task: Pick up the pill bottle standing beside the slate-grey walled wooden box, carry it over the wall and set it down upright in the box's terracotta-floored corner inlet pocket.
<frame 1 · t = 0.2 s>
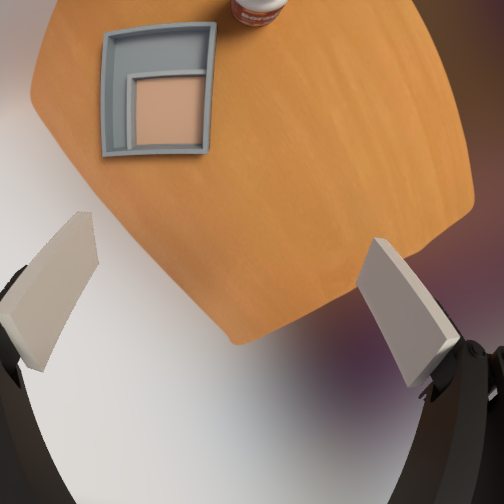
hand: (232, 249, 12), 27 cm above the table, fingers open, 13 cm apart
walled box: (159, 88, 31), on the table
pill bottle: (255, 8, 26), on the table
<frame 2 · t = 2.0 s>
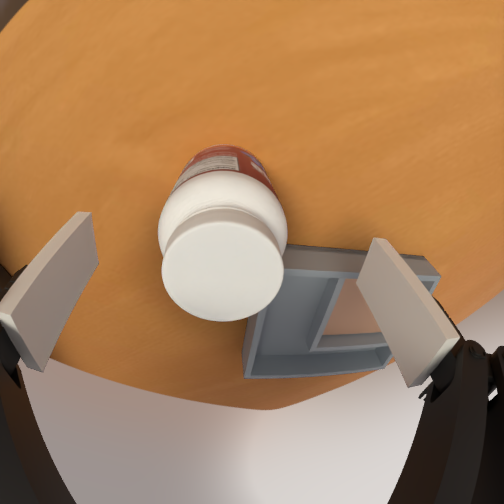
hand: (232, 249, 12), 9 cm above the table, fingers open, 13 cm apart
walled box: (333, 308, 28), on the table
pill bottle: (223, 183, 20), on the table
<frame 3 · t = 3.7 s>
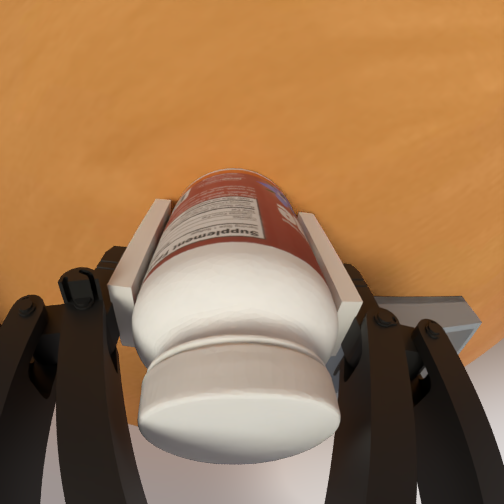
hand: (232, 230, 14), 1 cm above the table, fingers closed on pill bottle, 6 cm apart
walled box: (358, 357, 22), on the table
pill bottle: (232, 220, 15), on the table, touching gripper
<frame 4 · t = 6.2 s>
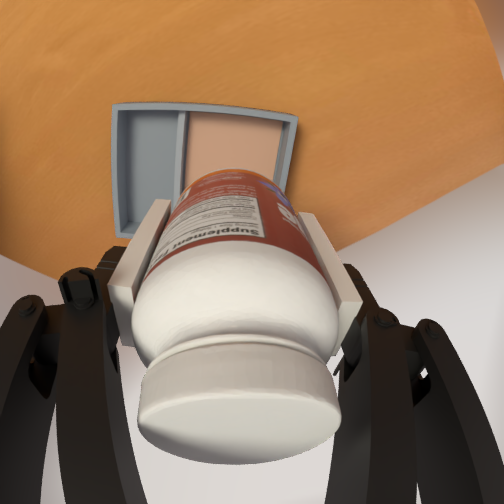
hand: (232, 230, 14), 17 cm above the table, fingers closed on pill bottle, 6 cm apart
walled box: (199, 169, 28), on the table
pill bottle: (232, 220, 15), point 16 cm above the table, touching gripper
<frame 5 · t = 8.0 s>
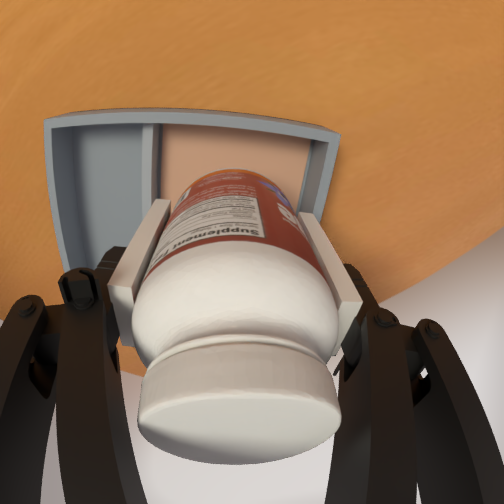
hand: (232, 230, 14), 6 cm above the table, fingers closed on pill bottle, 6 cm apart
walled box: (182, 209, 19), on the table
pill bottle: (232, 220, 15), point 5 cm above the table, touching gripper
when the fingers open (4 cm above the table, at t = 9.1 s): pill bottle drops 2 cm, resting on walled box.
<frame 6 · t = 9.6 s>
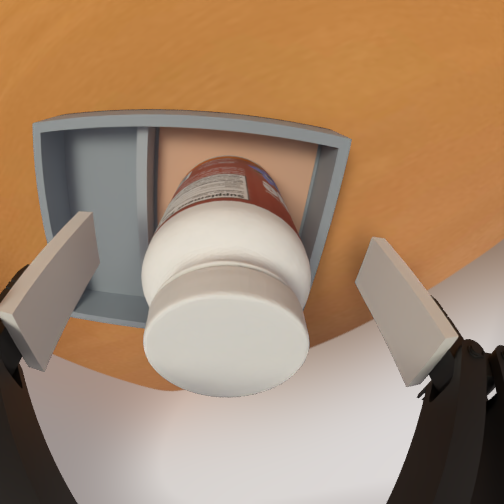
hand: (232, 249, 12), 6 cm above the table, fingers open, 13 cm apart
walled box: (180, 218, 18), on the table
pill bottle: (227, 201, 17), point 1 cm above the table, touching walled box
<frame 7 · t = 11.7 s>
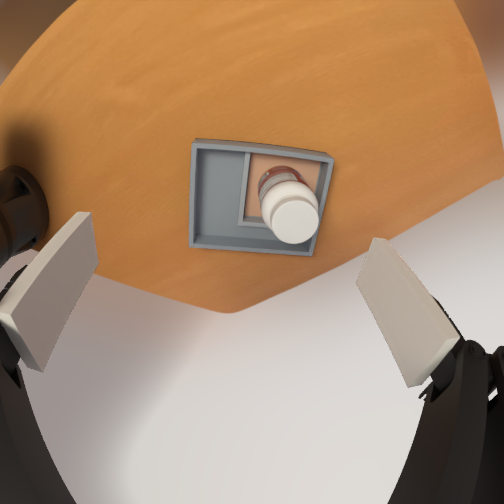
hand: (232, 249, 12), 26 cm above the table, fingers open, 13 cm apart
walled box: (256, 194, 38), on the table
pill bottle: (280, 185, 37), point 1 cm above the table, touching walled box
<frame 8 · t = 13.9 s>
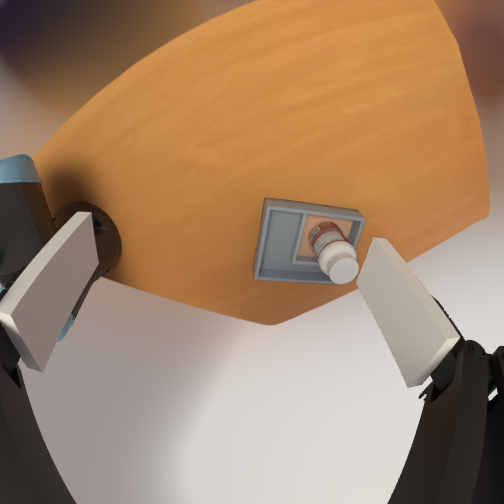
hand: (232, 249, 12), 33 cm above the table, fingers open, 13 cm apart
walled box: (305, 239, 51), on the table
pill bottle: (323, 234, 49), point 1 cm above the table, touching walled box
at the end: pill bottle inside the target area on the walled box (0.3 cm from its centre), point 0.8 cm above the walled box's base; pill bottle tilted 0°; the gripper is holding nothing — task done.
